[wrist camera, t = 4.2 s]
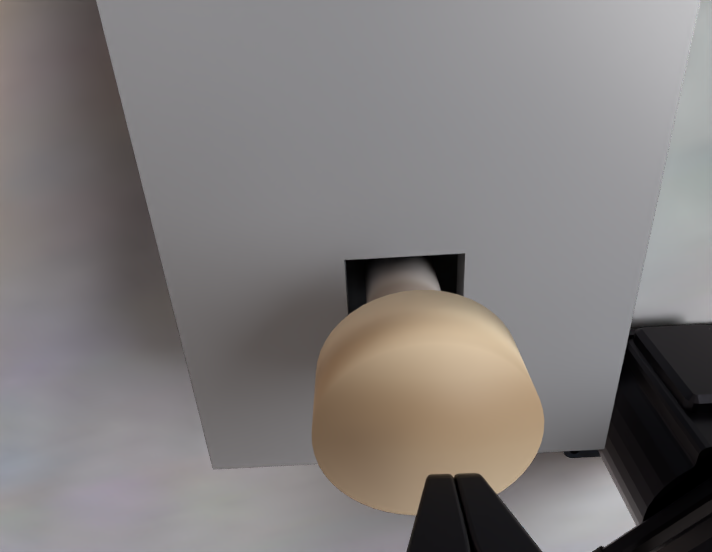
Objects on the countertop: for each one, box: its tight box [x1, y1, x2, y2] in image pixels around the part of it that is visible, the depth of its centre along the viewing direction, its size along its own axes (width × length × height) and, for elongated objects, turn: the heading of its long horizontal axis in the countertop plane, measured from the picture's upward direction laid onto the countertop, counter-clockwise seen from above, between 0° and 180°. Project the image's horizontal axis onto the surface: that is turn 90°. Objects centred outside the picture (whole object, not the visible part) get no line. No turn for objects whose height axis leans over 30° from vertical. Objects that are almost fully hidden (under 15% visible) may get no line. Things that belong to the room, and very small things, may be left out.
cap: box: [312, 255, 544, 515], centre depth 14 cm, size 4×4×7 cm
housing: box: [96, 0, 701, 469], centre depth 15 cm, size 22×12×6 cm, turn 3°
